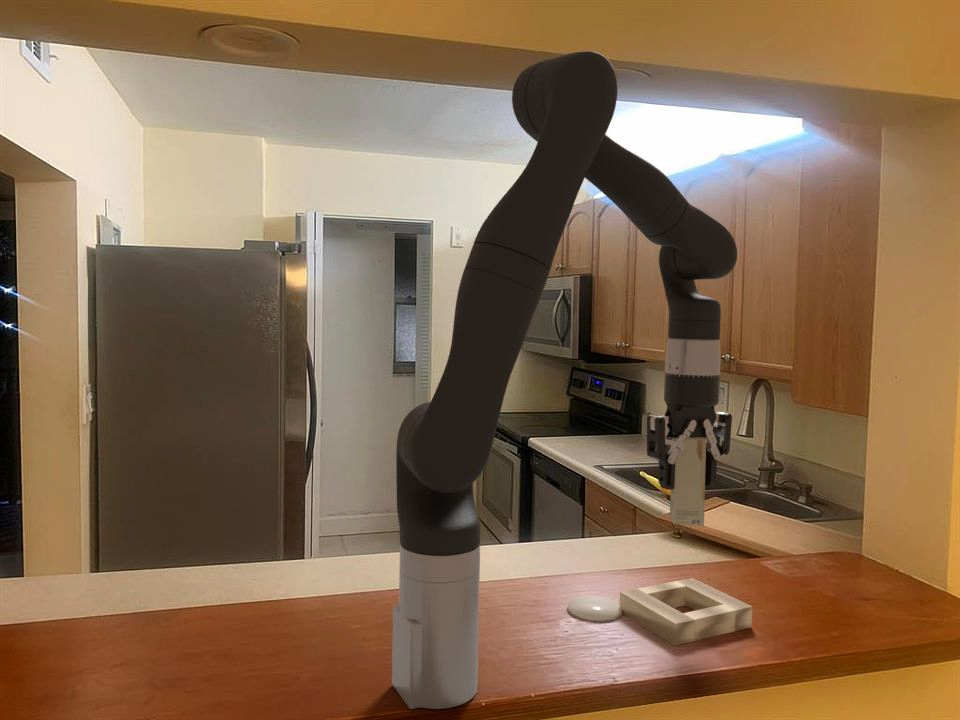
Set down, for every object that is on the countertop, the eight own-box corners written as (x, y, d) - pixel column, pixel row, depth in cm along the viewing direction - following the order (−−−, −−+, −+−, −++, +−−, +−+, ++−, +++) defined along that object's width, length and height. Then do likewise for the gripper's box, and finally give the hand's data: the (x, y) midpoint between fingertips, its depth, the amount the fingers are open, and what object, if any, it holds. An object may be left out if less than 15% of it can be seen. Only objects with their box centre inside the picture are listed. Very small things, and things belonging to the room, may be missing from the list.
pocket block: (675, 645, 95) (675, 623, 95) (619, 611, 106) (619, 591, 105) (751, 627, 101) (752, 606, 101) (691, 596, 112) (692, 578, 112)
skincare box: (704, 527, 99) (707, 440, 98) (672, 525, 100) (675, 438, 99) (699, 515, 105) (702, 432, 104) (669, 513, 106) (671, 431, 105)
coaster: (588, 625, 101) (588, 621, 101) (557, 604, 108) (557, 600, 108) (633, 615, 104) (633, 611, 104) (600, 596, 111) (600, 592, 111)
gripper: (671, 374, 95) (666, 497, 96) (749, 372, 101) (744, 488, 102) (634, 369, 101) (630, 485, 102) (710, 368, 108) (706, 477, 109)
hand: (687, 486), depth 102 cm, fingers closed on skincare box, 7 cm apart
